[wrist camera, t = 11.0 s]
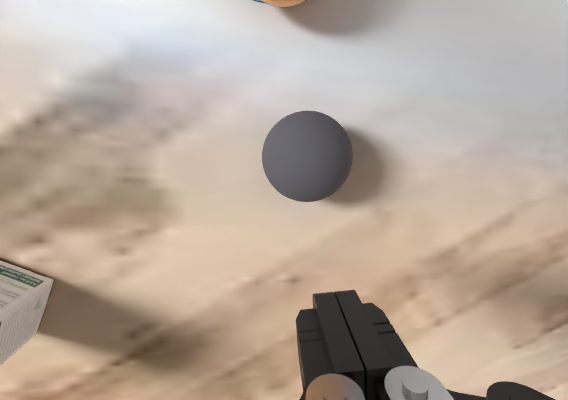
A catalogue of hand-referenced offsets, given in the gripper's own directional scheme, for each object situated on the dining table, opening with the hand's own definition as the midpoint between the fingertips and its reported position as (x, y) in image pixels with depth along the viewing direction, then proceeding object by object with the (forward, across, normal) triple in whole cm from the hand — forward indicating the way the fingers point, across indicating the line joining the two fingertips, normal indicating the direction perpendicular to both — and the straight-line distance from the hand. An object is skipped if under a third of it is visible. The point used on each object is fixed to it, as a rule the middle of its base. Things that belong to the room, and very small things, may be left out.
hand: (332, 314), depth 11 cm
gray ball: (+10, -1, -5) cm, 11 cm away
